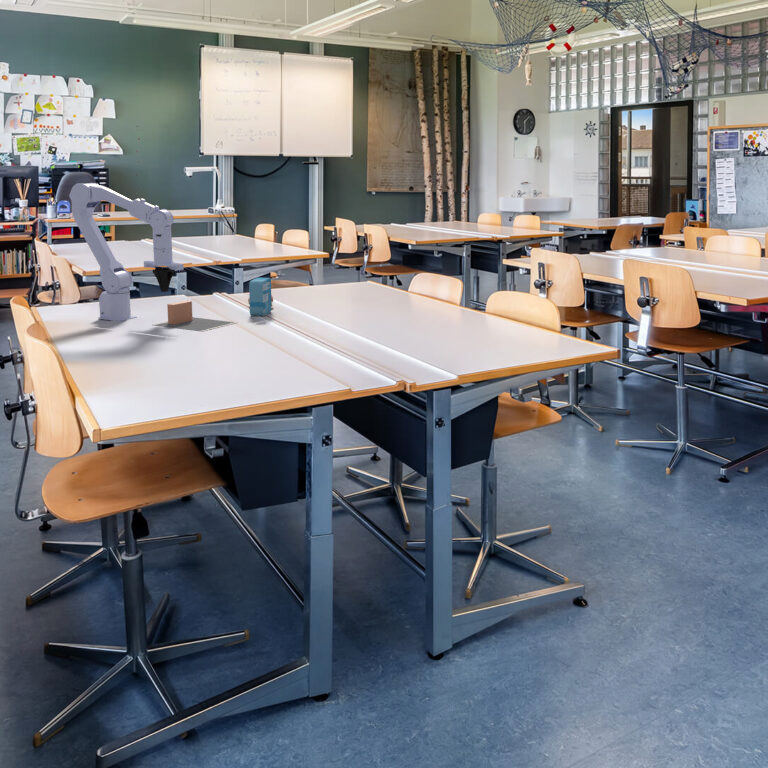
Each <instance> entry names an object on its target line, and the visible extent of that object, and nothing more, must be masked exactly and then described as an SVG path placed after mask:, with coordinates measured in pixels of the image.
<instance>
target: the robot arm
mask: <svg viewBox="0 0 768 768" xmlns="http://www.w3.org/2000/svg"><path fill="white" fill-rule="evenodd" d="M68 196H69V199H70V201H71V209H72V213H71V214H72V218H73V219H74V222H75V223H76V225H77V228H78V229H79V230H80V232H81V235H82V236H83V238H84V239H85V242H86V243H87V245H88V247H89V248H90V251H91V252H92V255H93V256H94V258H95V260H96V262H97V264H98V266H100V267H99V272H98V273H99V276H100V278H101V285H102V287H103V289H104V290H105V291H102V292H101V294H100V295H99V297H98V298H99V299H98V303H99V305H98V306H99V316H98V317H97V318H98V320H105V321H114V322H115V321H116V322H122V321H127V320H132V319H136V318H137V316H134V315H132V313H131V294H130V287H131V286H132V284H133V277H132V275H131V272H129V271H128V270H127V269H125V267H124V265H123V264H122V263H121V262H120V261H118V260H117V259H116V257H115V256H114V254H113V252H112V249H111V248H110V246H109V244H108V243H107V241H106V238H105V237H104V235H103V234H102V231H101V230H100V228H99V226H98V224H97V222H96V221H95V219H94V217H93V215H94V211H95V209H96V207H97V206H98V205H99V203H100V202H101V201H102V202H103V201H105V202H108V203H111V204H112V205H115V206H118V207H120V208H122V209H125V210H127V211H128V212H129V215H130V216H131V217H134V218H136V219H137V220H140V221H142V222H144V223H146V224H149V225H150V226H151V228H152V247H153V260H144V261H143V267H144V268H152V274H153V275H154V276H155V278H156V280H157V284H158V286H159V289H160V292H166V293H167V292H169V288H170V284H171V281H172V278H173V275H174V274H175V272H176V271H184V268H185V267H184V263H179V262H175V261H173V242H172V241H173V240H172V225H173V224H174V215H173V214H172V212H171V211H169V210H168V209H167V208H162V209H160V207H159V205H153V204H151V203H149V202H146V199H144V198H135V199H133V200H132V199H130V198H128V197H126V196H124V195H122V194H120V193H118V192H116V191H114V190H113V189H111V188H109V187H107V186H105V185H99V184H98V183H95V182H90V183H82V182H78V183H76V184H74V185H73V186H72V188H71V190H70V193H69V195H68ZM153 268H154V269H153Z"/></svg>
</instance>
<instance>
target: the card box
mask: <svg viewBox="0 0 768 768" xmlns="http://www.w3.org/2000/svg"><path fill="white" fill-rule="evenodd" d="M166 307H167V321H168V324H178V323H183V322H187V321H192V320H193V319H192V317H193V301H191V300H183V301H177V302H172V303H167V305H166Z"/></svg>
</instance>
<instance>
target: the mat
mask: <svg viewBox="0 0 768 768" xmlns="http://www.w3.org/2000/svg"><path fill="white" fill-rule="evenodd" d="M192 319H193V320H192V321H187V322H183V323H178V324H168V320H167V321H164V322H163V321H162V322H158V323H155V324H152V326H156V327H163V328H171V329H172V328H173V329H179V330H187V331H195V332H203V333H204V332H207V331H211V330H215V329H219V328H223V327H227V326H231V325H235V324H239V322H237V321H236V322H234V321H227V320H219V319H210V318H202V317H201V318H200V317H194V316H192Z"/></svg>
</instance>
